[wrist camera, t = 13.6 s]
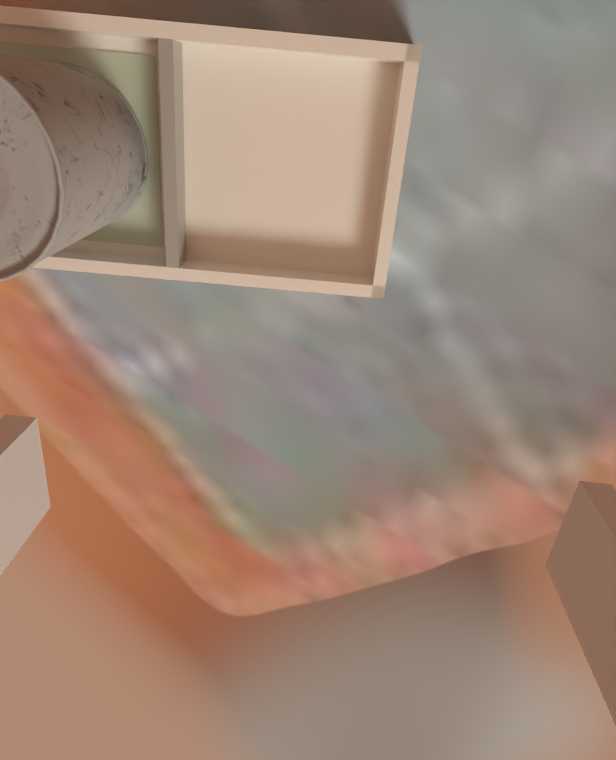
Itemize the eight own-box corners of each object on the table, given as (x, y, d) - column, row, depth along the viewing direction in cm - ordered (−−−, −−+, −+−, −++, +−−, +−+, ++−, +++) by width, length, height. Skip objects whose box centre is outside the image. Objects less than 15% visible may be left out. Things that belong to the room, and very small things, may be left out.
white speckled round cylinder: (180, 157, 34) (109, 183, 23) (85, 258, 37) (-18, 324, 26) (54, 21, 30) (-99, -27, 19) (-38, 143, 34) (-214, 162, 23)
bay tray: (415, 49, 31) (422, 45, 29) (380, 287, 37) (383, 298, 35) (-65, 4, 31) (-96, -4, 28) (-18, 251, 37) (-40, 260, 35)
